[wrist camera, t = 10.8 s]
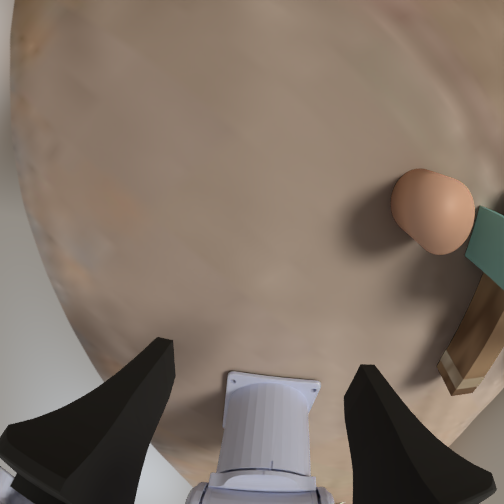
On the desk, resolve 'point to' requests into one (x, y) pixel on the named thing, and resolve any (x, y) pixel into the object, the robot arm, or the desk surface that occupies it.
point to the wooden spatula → (475, 340)
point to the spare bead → (433, 210)
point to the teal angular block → (488, 244)
